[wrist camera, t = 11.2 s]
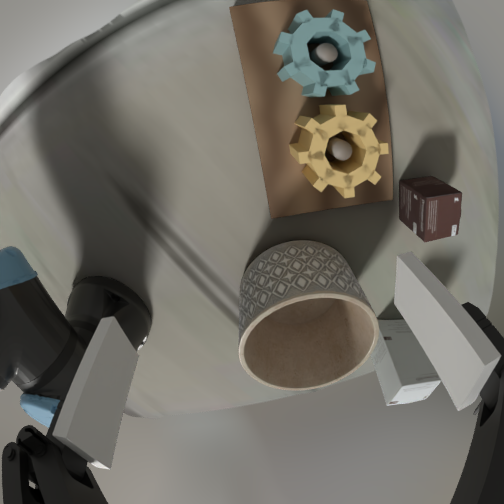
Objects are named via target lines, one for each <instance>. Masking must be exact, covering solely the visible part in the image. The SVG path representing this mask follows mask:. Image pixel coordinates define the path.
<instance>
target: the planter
mask: <svg viewBox="0 0 504 504" xmlns="http://www.w3.org/2000/svg"><path fill="white" fill-rule="evenodd" d="M378 337H379V323H378V319H377V317H376V315H375V313H374V311H373V309H372V307H371V305H370V303H369V301H368V299H367V297H366V296H365V294H364V292H363V290H362V288H361V286H360V284H359V283H358V281H357V279H356V277H355V275H354V274H353V272H352V270H351V268H350V266H349V265H348V263H347V261H346V260H345V259H344V257H343V256H342V255H341V254H340V253H339V252H338V251H336V250H335V249H333V248H332V247H330V246H328V245H326V244H323V243H320V242H316V241H310V240H296V241H289V242H285V243H281V244H279V245H276V246H274V247H271V248H270V249H268V250H266V251H264V252H263V253H262V254H260V255H259V256H258V257H256V259H255V260H254V261H253V262H252V263H251V264H250V265H249V267H248V268H247V270H246V271H245V273H244V275H243V278H242V280H241V285H240V302H239V350H238V354H239V359H240V362H241V364H242V366H243V368H244V369H245V371H246V372H247V373H248V374H249V375H250V376H251V377H252V378H254V379H255V380H257V381H258V382H260V383H262V384H265V385H267V386H270V387H273V388H277V389H283V390H308V389H315V388H319V387H323V386H326V385H329V384H332V383H334V382H337V381H339V380H341V379H343V378H345V377H346V376H348V375H350V374H351V373H353V372H354V371H355V370H357V369H358V368H359V367H360V366H361V365H362V364H363V363H364V362H365V361H366V360H367V359H368V358H369V356H370V355H371V353H372V352H373V350H374V348H375V346H376V344H377V341H378Z"/></svg>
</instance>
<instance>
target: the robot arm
mask: <svg viewBox="0 0 504 504" xmlns="http://www.w3.org/2000/svg"><path fill="white" fill-rule="evenodd" d="M37 275H38V274H37V272H36V271H34V270H33V269H32V267H31V266H30V264H29V263H28V261H27V260H26V258H25V257H24V255H23V254H22V252H21V251H20V250H19V249H18V248H16V247H12V246H9V247H6V248H3V249H2V250H0V391H3V390H4V388H5V387H6V386H7V385H8V383H9V382H10V381H11V380H12V381H13V382H14V383H15V384H16V385H17V386H18V387H19V388H20V389H21V390H22V391H23V392H24V393H23V394H22V395H21V400H20V405H21V407H22V408H23V409H24V411H25V412H26V413H27V414H28V415H29V416H31V417H32V418H33V419H35V420H36V421H38V422H40V423H41V424H43V425H45V426H47V427H48V428H49V429H48V432H47V435H46V436H44V435H43V434H42V433H41V432H40V431H38V430H37V429H36V428H35V427H33V426H31V425H28V426H25V427H23V428H22V429H21V430H20V432H19V434H18V436H17V439H16V443H15V442H11V443H8V444H7V445H6V446H5V448H4V450H3V454H2V487H3V502H4V504H108V502H107V501H106V499H105V497H104V495H103V494H102V492H101V490H100V488H99V486H98V484H97V482H96V480H95V478H94V476H93V474H92V472H91V470H90V469H89V467H87V462H89V463H91V464H93V465H94V466H95V467H99V468H104V469H111V465H112V460H113V455H114V450H115V446H116V441H117V437H118V433H119V428H120V424H121V420H122V416H123V412H124V408H125V404H126V400H127V397H128V393H129V389H130V385H131V382H132V378H133V375H134V371H135V368H136V364H137V361H138V358H139V355H138V353H137V350H139V349H140V348H141V347H142V346H143V345H144V344H145V342H146V340H147V338H148V335H149V332H150V329H151V318H150V314H149V311H148V309H147V307H146V306H145V304H144V303H143V301H142V300H141V299H140V298H139V297H138V295H137V294H135V293H134V292H133V291H132V290H131V289H129V288H128V287H127V286H125V285H123V284H122V283H120V282H118V281H115V280H113V279H110V278H106V277H100V276H94V277H88V278H85V279H83V280H81V281H80V282H79V283H78V284H77V285H76V287H75V288H74V289H73V291H72V292H71V294H70V296H69V299H68V304H67V310H66V314H65V316H64V315H63V314H62V313H61V311H60V310H59V308H58V307H57V306H56V304H55V303H54V301H53V300H52V298H51V297H50V295H49V294H48V292H47V291H46V289H45V288H44V286H43V285H42V283H41V282H40V280H39V278H38V277H37ZM394 304H395V306H396V307H397V309H398V310H399V312H400V313H401V315H402V316H403V318H404V319H405V321H406V322H407V324H408V326H409V327H410V329H411V330H412V332H413V333H414V335H415V337H416V338H417V340H418V341H419V343H420V345H421V346H422V348H423V350H424V351H425V353H426V354H427V356H428V358H429V359H430V361H431V363H432V365H433V366H434V368H435V370H436V371H437V373H438V375H439V377H440V378H441V380H442V382H443V384H444V386H445V387H446V389H447V391H448V393H449V395H450V397H451V398H452V400H453V402H454V404H455V406H456V408H457V410H458V411H459V410H461V409H463V408H465V407H466V406H468V405H470V404H472V403H474V401H475V399H476V398H477V396H478V395H479V394H480V396H481V397H482V401H481V402H480V404H479V405H478V407H477V408H476V409H475V412H474V415H476V414H477V412H478V411H479V413H478V418H477V423H476V427H475V431H474V435H473V439H472V443H471V446H470V450H469V453H468V456H467V460H466V463H465V466H464V469H463V472H462V475H461V478H460V480H459V483H458V485H457V488H456V491H455V493H454V496H453V498H452V500H451V503H450V504H504V338H503V337H502V336H501V334H500V333H499V332H498V331H497V329H496V328H495V327H494V326H492V324H491V322H490V321H489V320H488V319H486V316H485V315H484V314H483V313H482V312H481V310H480V309H479V308H478V307H476V306H474V305H473V304H471V303H469V302H467V303H465V304H462V305H461V304H460V303H459V302H458V301H457V300H456V299H455V297H454V296H453V295H452V294H451V293H450V292H449V291H448V289H447V288H446V287H445V286H444V285H443V284H442V283H441V282H440V281H439V280H438V279H437V277H436V276H435V275H434V274H433V273H432V272H431V271H430V270H429V269H428V268H427V267H426V266H425V265H424V264H423V263H422V262H421V261H420V260H419V259H418V258H417V257H416V256H415V255H414V254H413V253H412V252H407V253H404V254H400V255H397V268H396V284H395V296H394ZM29 481H31V482H33V483H34V484H35V486H36V487H35V489H34V488H32V487H30V486H29Z"/></svg>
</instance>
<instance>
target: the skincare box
mask: <svg viewBox="0 0 504 504" xmlns="http://www.w3.org/2000/svg"><path fill="white" fill-rule="evenodd" d="M378 323H379V337H378V341H377V344H376V346H375V348H374V350H373V352H372V353H371V358H372V360H373V363H374V366H375V370H376V373H377V376H378V379H379V382H380V384H381V388H382V391H383V395H384V398H385V401H386V405H387V406H388V405H395V404H407V403H411V402H414V401H420V400H424V399H426V398H427V397H428V396H429V395H430V394H431V393H432V391H433V390H434V389H435V388H436V386H437V385H438V384H439V383H440V382H441V378H440V377H439V375H438V373H437V371H436V370H435V368H434V366H433V365H432V363H431V361H430V359H429V358H428V356H427V354H426V353H425V351H424V350H423V348H422V346H421V345H420V343H419V341H418V340H417V338H416V337H415V335H414V333H413V332H412V330H411V329H410V327H409V326H408V324H407V322H406V321H405V319H403V320H378Z"/></svg>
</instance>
